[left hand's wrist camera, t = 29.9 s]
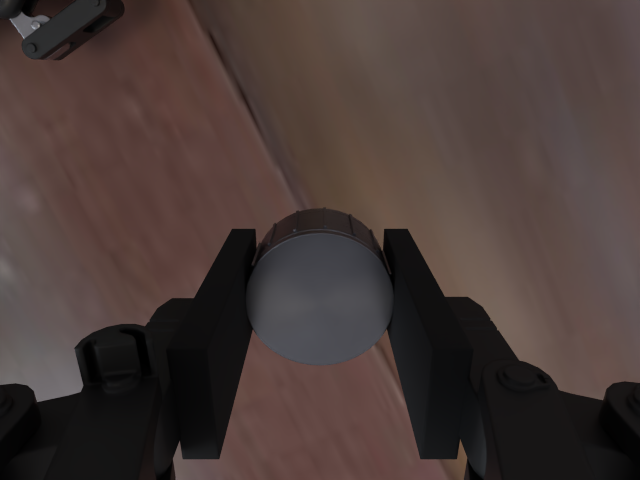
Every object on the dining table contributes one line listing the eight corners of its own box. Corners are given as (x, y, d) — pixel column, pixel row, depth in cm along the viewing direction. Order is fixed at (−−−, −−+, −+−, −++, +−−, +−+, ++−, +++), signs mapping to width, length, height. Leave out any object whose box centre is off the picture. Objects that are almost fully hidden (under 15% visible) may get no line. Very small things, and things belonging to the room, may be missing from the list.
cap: (271, 191, 13) (262, 215, 11) (402, 225, 14) (417, 254, 12) (243, 308, 15) (230, 348, 13) (362, 336, 15) (368, 379, 13)
